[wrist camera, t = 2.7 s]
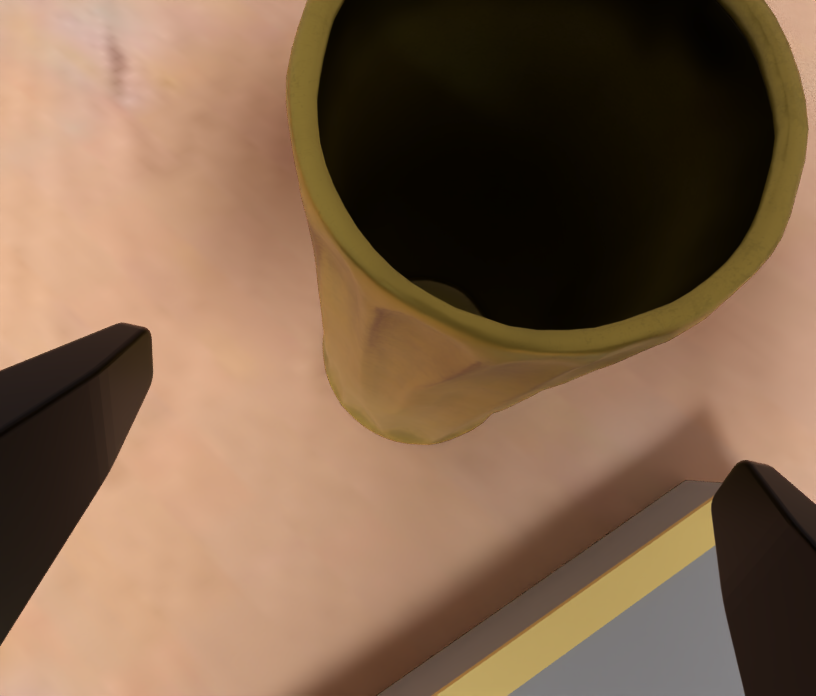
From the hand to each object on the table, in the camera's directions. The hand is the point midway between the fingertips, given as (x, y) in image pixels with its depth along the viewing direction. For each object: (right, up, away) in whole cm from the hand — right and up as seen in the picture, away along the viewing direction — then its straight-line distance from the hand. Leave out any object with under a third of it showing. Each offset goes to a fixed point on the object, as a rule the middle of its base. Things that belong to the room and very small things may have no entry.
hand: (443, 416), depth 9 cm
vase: (0, +1, +11) cm, 11 cm away
